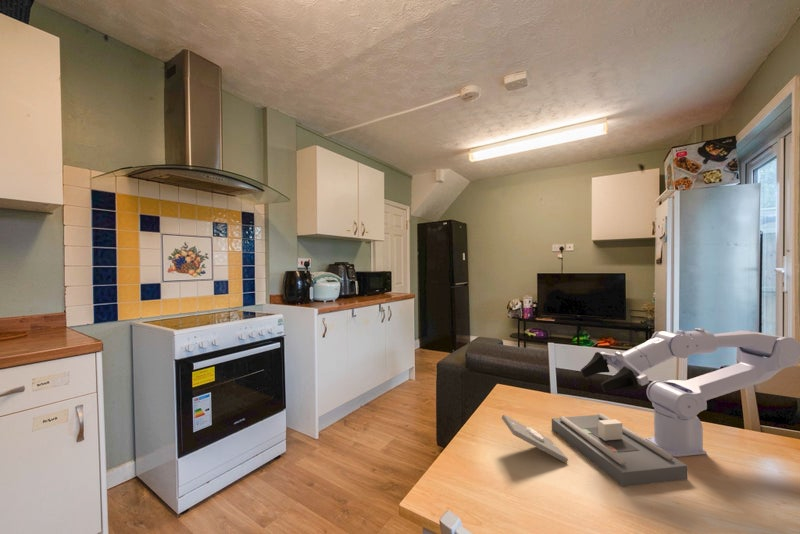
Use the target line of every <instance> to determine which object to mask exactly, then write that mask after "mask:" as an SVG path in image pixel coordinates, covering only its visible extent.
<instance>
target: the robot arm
mask: <svg viewBox="0 0 800 534" xmlns="http://www.w3.org/2000/svg"><path fill="white" fill-rule="evenodd" d="M719 348H720V349H721V348H736V361H737V362H738V363H734V364H732V365H728V366H725V367H723V368H720V369H717V370H715V371H710V372H707V373H704V374H701V375H699V376H698V375H697V376H696V377H693V378H692V377H691V378H689V379H686V380H681V379H679V380H678V379H669V380H654V381H652V382H650V380H649V377H648V375H647V374H645V373H643V372H645V371H647V370H649V369H650V368H651V369H652V368H653V367H656V366H658V365H660V364H662V363H664V362H667V361H669V360H671V359H673V358H674V357H675V358H679V359H687V358H689V357H690V356H692V355H699V354H701V355H703V354H712V353H715V352H716V351H718V349H719ZM799 362H800V342H799V341H798V340H797V339H796V338H794V337H789V336H781V335H774V334H771V333H769V334H768V333H763V332H758V331H754V330H752V329H750V330H748V329H747V330H742V329H739V330H737V331H736V330H735V331H730V332H729V331H728V332H721V333H712V332H711V331H709V330H705V329H704V328H700V327H698V328H697V327H695V328H694V330H689V331H687V330H686V331H685V330H682V329H678V330H676V331H675V332H671V331H666V330H662V331H658V330H657V331H655V332H654V333H653V334H652V336H651V338H649V339H648V340H646V341H645V342H643V343H640V344H638V345H636V346H634V347H631V348H629V349H627V350H625V351H623V352H619V351H615V352H614V353H608V352H604V351H601V352H599V351H596V352H595V353H594V355H593V356H592V358H591V359H590V361H588V363H587V364H586V365H584V366H583V367H582V368H581V369H580V372H581V376H582V377H584V378H588V377H591V376H594V375H596V374H601V373H610V372H611V371H610V368H609V366H610V367H612V368H614V369H615V370H616V371H617V372H616V373H615V374H614V375H613V376H610V377H609V378H607V379H605V380H603V381H602V382H601V383H600V386H601V389H602V391H603V392H604V393H607V392H613V391H621V390H622V391H623V390H625V391H626V390H628V391H637V390H638V389H639V388H638V385H640V386H642V387H643V386H645V385H648V386H647V388H646V396H647V399H648V400H649V401H650V402H651V403H652V404H651V405H652V407H653V408H654V412H653V414H654V415H653V421H654V422H653V424H654V426H653V427H654V428H653V429H654V430H653V431H654V432H653V433H654V434H653V436H652V437H651V436H650V437H649V436H648V437H645V438H644V439H646V440H647V441H649V442H651V443H652V444H654V445H656V446H658V447H659V448H661V449H663V450H664V451H666V452H668V453H669V454H671V455H672V456H673V457H674V458H677V457H678V458H679V457H688V456H697V455H698V456H699V455H706V454H708V453H707V451H706V450H704V446H703V444H704V442H703V441H704V438H703V437H704V430H703V429H704V428H703V424H702V421H701V419H700V418H699V417H698V416H697V415H698V414H699V413H701V412H703V411H706V410H707V409H708V404H707V403H708V402H707V401H709V400H711V399H715V398H718V397H721V396H724V395H727V394H731V393H733V392H737V391H739V390H742V389H746V388H749V387H752V386H755V385H758V384H761V383H764V382H767V381H769V380H771V379H772V378H773V377H774V376H775V375H777V374H778V373H779V372H780V371H782V370H784V369H786V368H790V367H793V366H796V365H798V364H799ZM608 365H609V366H608Z"/></svg>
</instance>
